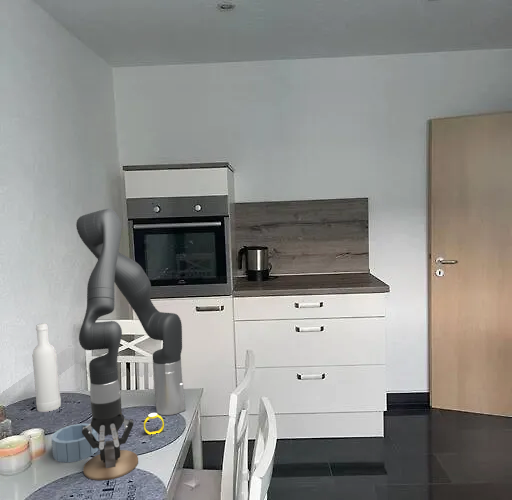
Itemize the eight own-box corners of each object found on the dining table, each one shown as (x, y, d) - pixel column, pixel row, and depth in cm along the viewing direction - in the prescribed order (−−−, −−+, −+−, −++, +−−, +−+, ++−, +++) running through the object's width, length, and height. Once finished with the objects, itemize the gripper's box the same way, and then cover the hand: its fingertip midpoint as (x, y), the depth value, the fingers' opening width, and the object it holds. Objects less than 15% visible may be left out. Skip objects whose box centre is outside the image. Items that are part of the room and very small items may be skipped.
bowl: (99, 438, 148) (98, 421, 147) (97, 457, 136) (95, 438, 135) (57, 445, 145) (55, 427, 144) (50, 465, 133) (48, 445, 133)
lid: (138, 449, 140) (136, 429, 139) (138, 474, 126) (137, 452, 126) (86, 457, 136) (84, 437, 136) (80, 484, 123) (79, 462, 122)
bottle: (58, 411, 171) (50, 325, 168) (34, 413, 169) (26, 328, 167) (63, 402, 178) (56, 320, 176) (40, 404, 177) (33, 322, 175)
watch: (145, 437, 147) (142, 418, 147) (144, 434, 150) (141, 415, 149) (165, 432, 149) (162, 414, 148) (164, 429, 152) (161, 410, 151)
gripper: (132, 388, 135) (137, 449, 136) (79, 395, 132) (84, 457, 133) (132, 398, 128) (137, 462, 129) (76, 406, 124) (81, 471, 126)
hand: (110, 459), depth 131 cm, fingers closed on lid, 2 cm apart
